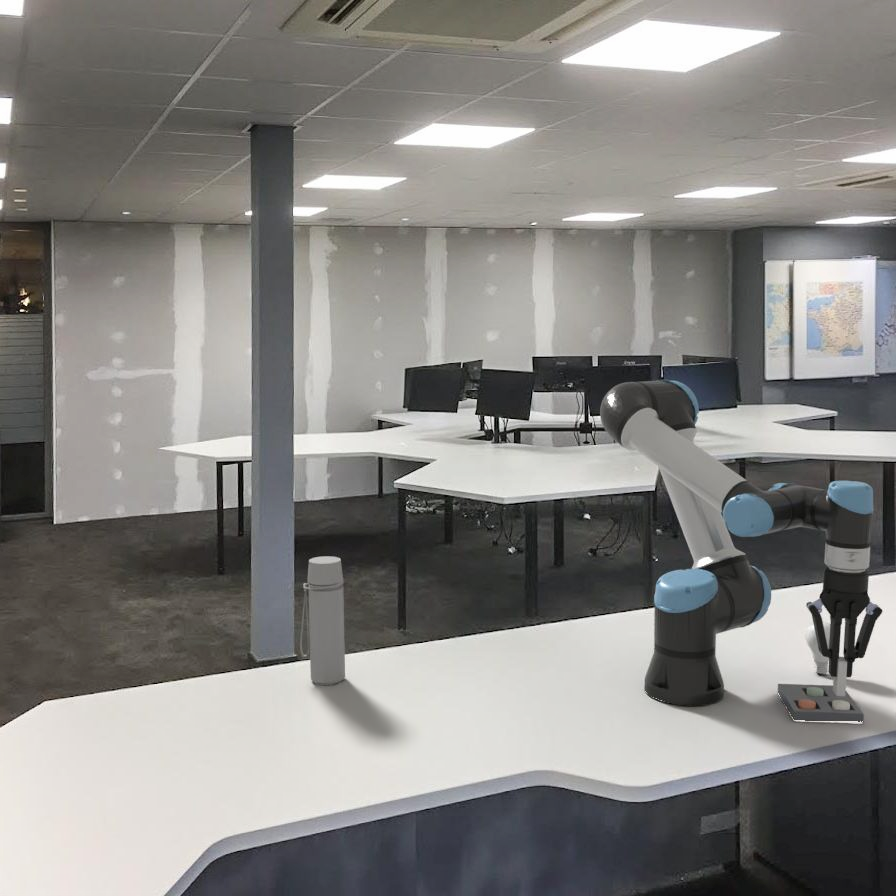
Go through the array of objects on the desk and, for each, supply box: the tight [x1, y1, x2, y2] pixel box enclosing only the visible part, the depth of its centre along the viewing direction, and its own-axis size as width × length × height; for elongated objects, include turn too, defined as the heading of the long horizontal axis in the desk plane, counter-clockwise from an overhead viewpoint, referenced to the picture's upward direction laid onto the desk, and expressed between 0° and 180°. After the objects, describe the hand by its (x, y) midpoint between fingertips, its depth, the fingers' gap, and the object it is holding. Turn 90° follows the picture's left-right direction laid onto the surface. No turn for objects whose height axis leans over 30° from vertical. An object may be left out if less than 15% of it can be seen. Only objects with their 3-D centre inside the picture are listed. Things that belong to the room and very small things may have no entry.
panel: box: [777, 683, 865, 722], centre depth 185 cm, size 12×14×2 cm
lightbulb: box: [805, 621, 830, 675], centre depth 203 cm, size 6×6×11 cm
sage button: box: [807, 687, 824, 696], centre depth 188 cm, size 3×3×2 cm
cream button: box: [832, 700, 850, 710], centre depth 181 cm, size 3×3×2 cm
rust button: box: [798, 699, 816, 709], centre depth 182 cm, size 3×3×2 cm
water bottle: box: [299, 555, 346, 686], centre depth 201 cm, size 9×8×25 cm
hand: (838, 693), depth 181 cm, fingers closed
